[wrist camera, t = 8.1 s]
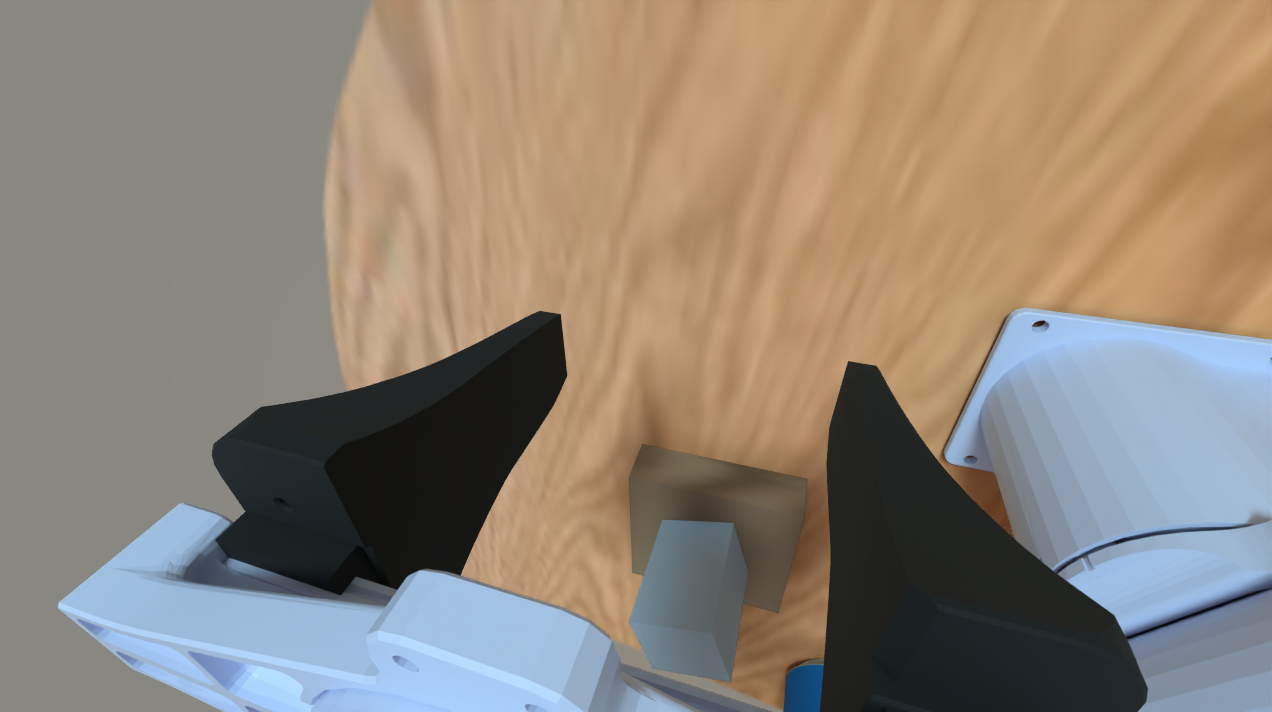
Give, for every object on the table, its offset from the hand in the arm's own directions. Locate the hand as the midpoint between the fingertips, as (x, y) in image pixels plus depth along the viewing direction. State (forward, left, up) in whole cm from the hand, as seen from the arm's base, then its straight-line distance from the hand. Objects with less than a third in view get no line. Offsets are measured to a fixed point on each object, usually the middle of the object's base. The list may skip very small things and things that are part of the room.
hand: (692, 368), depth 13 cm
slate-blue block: (0, +18, -7) cm, 19 cm away
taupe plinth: (0, +18, -10) cm, 21 cm away
